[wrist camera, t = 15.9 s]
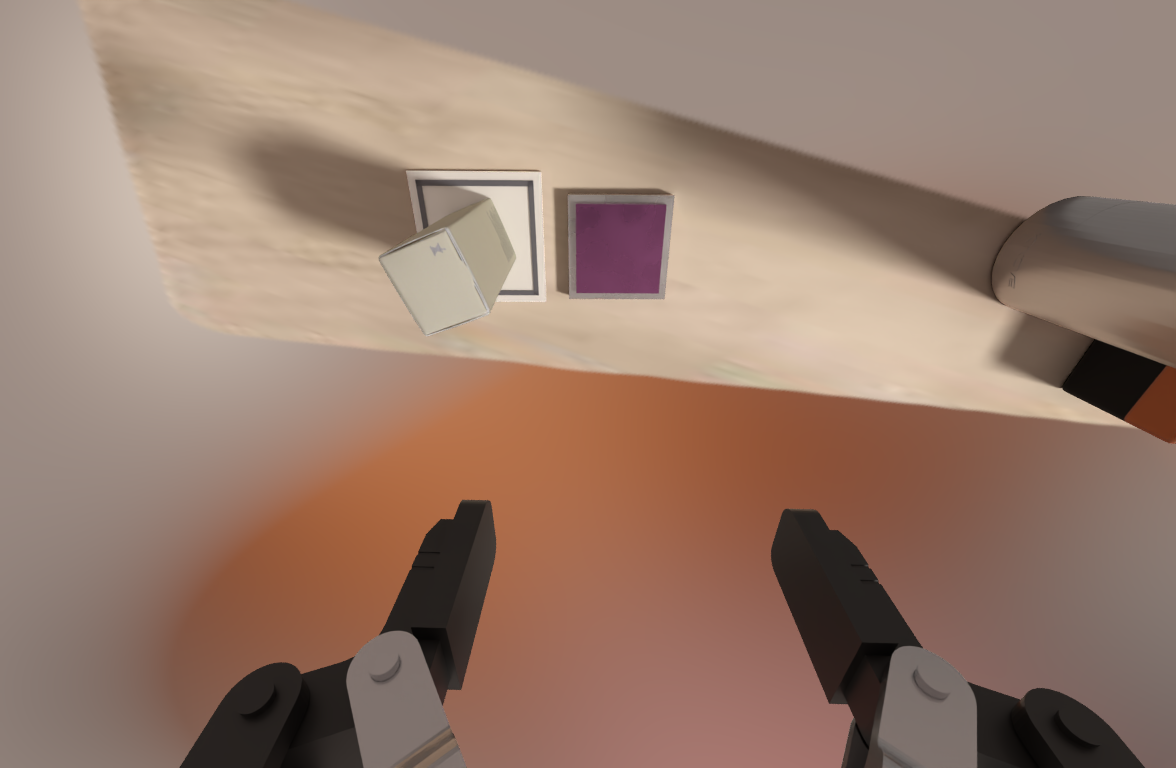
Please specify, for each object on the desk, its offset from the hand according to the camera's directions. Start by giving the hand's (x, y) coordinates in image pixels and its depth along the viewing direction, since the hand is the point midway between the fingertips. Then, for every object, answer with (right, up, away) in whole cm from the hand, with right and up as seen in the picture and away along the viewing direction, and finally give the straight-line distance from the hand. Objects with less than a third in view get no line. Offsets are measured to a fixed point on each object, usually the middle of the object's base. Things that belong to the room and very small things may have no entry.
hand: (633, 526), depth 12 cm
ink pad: (+1, +15, +23) cm, 28 cm away
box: (-10, +16, +22) cm, 29 cm away
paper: (-10, +15, +23) cm, 29 cm away
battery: (+47, +6, +29) cm, 55 cm away
